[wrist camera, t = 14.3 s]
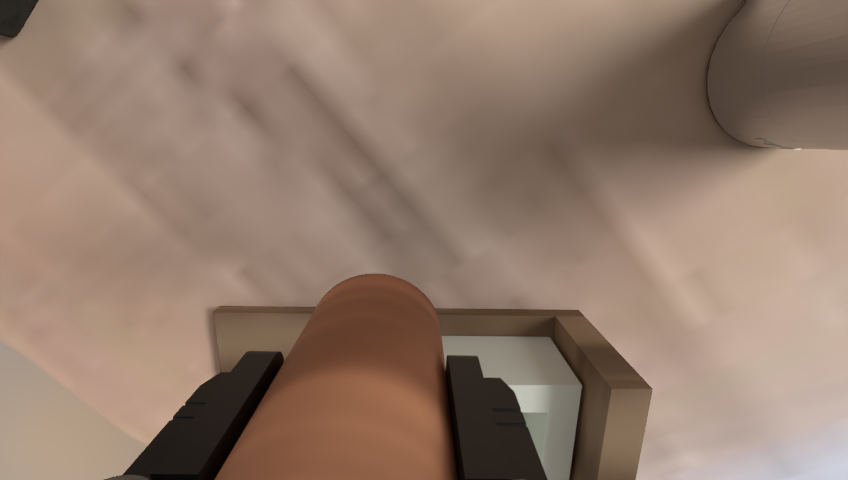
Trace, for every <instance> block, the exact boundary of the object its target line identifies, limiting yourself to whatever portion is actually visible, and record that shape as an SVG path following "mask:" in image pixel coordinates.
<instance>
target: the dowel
mask: <svg viewBox="0 0 848 480" xmlns="http://www.w3.org/2000/svg"><path fill="white" fill-rule="evenodd" d="M214 480H458V472H457V464H456V456H455V447H454V439H453V431H452V422H451V414H450V405H449V397H448V389H447V380H446V368H445V360H444V352H443V344H442V335H441V328H440V322H439V318H438V315H437V313H436V310H435V308H434V306H433V305H432V303H431V302H430V300H429V299H428V298H427V297H426V296H425V295H424V293H422V292H421V291H420V290H419V289H418V288H417V287H415V286H414V285H412V284H411V283H409V282H407V281H405V280H403V279H400V278H397V277H394V276H390V275H385V274H365V275H359V276H355V277H352V278H349V279H347V280H345V281H342V282H341V283H339V284H337V285H336V286H334V287H333V288H332V289H331V290H330V291H328V293H327V294H326V295H325V296H324V297H323V298H322V300H321V301H320V302H319V304H318V306H317V307H316V309H315V311H314V312H313V314H312V316H311V317H310V319H309V321H308V322H307V324H306V326H305V328H304V329H303V331H302V333H301V334H300V336H299V338H298V339H297V341H296V343H295V344H294V346H293V348H292V349H291V351H290V353H289V355H288V356H287V358H286V360H285V361H284V363H283V365H282V366H281V368H280V370H279V371H278V373H277V375H276V376H275V378H274V380H273V382H272V383H271V385H270V387H269V388H268V390H267V392H266V393H265V395H264V397H263V398H262V400H261V402H260V403H259V405H258V407H257V409H256V410H255V412H254V414H253V415H252V417H251V419H250V420H249V422H248V424H247V425H246V427H245V429H244V431H243V432H242V434H241V436H240V437H239V439H238V441H237V442H236V444H235V446H234V447H233V449H232V451H231V452H230V454H229V456H228V458H227V459H226V461H225V463H224V464H223V466H222V468H221V469H220V471H219V473H218V474H217V476H216V478H215V479H214Z"/></svg>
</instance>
